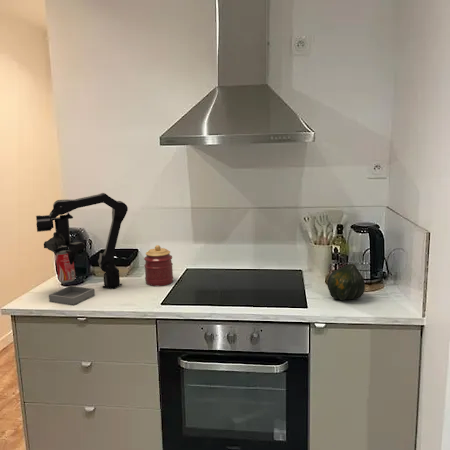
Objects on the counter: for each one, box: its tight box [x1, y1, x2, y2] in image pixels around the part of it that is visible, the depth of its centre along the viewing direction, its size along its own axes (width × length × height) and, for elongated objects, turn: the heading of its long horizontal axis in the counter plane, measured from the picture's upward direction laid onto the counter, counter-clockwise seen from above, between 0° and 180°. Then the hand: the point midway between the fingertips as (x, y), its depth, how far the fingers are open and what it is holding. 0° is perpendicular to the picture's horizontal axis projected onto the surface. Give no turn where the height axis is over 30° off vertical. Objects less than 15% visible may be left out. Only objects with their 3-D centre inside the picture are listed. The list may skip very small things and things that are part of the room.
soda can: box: [55, 249, 76, 283], centre depth 208 cm, size 7×7×13 cm
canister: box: [143, 244, 174, 287], centre depth 220 cm, size 13×13×18 cm
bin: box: [48, 285, 95, 306], centre depth 202 cm, size 13×13×3 cm
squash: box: [327, 263, 366, 301], centre depth 193 cm, size 14×15×15 cm
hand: (65, 264), depth 207 cm, fingers closed on soda can, 6 cm apart
